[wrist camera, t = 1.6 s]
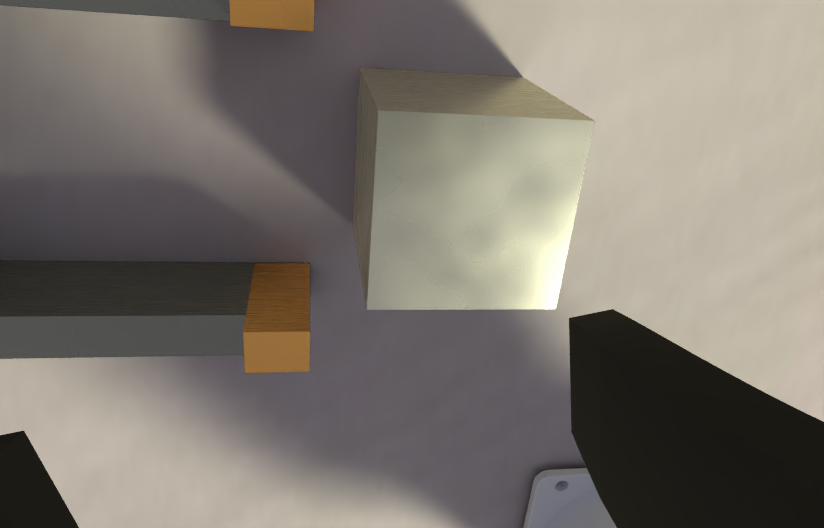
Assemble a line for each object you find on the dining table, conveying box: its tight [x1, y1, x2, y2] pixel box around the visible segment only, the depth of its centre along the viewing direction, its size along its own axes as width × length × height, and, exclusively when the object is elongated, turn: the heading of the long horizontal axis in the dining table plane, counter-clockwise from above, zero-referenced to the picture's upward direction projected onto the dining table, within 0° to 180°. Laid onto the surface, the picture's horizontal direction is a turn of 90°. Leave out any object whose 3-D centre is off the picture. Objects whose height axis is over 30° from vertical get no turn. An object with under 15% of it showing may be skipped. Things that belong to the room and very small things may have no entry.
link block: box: [353, 67, 595, 310], centre depth 16 cm, size 4×4×5 cm
